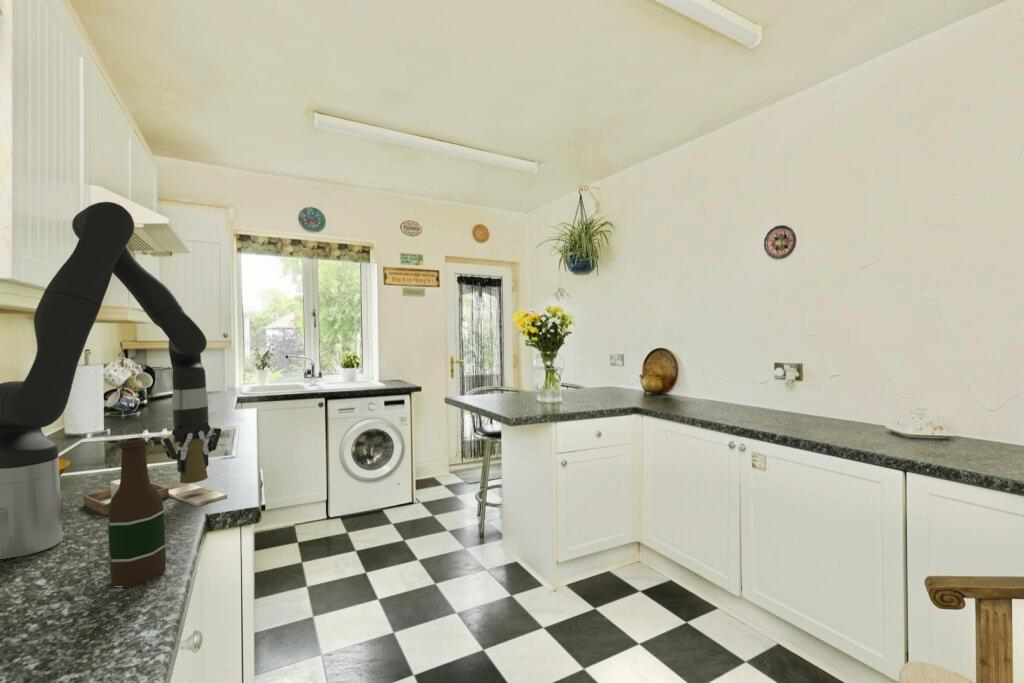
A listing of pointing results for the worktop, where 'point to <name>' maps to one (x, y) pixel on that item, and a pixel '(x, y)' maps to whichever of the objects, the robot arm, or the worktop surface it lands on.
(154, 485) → the dice tray
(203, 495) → the board
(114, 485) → the die
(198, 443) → the cork
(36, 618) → the worktop surface
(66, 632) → the worktop surface
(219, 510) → the worktop surface
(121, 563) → the beer bottle
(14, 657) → the worktop surface
